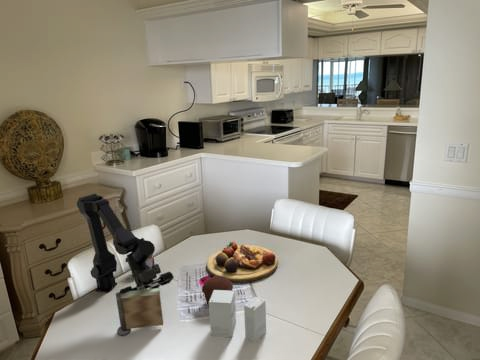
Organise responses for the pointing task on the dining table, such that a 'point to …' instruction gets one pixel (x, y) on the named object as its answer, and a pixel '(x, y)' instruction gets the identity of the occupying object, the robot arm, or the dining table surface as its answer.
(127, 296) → the gate panel
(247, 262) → the wooden plate with food
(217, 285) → the muffin
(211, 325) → the supplement box
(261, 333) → the skincare box
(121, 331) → the gate pivot base
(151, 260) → the energy drink
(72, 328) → the dining table surface
